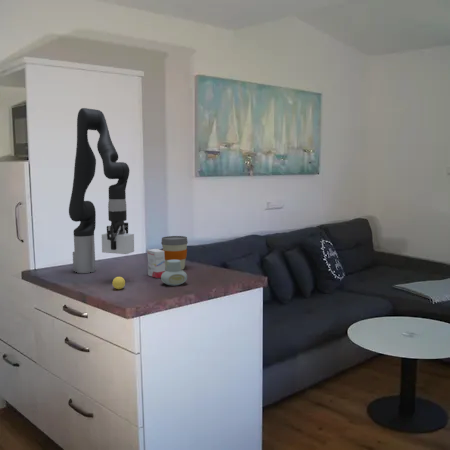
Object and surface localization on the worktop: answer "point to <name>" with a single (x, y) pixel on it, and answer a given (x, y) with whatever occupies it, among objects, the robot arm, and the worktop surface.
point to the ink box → (156, 262)
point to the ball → (118, 282)
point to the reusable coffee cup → (175, 249)
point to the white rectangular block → (119, 244)
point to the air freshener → (174, 273)
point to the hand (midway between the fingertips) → (118, 248)
